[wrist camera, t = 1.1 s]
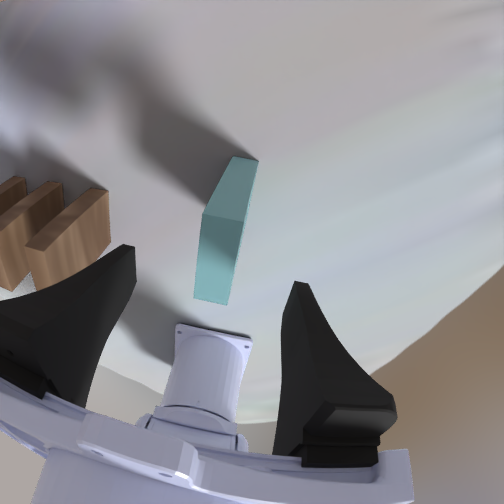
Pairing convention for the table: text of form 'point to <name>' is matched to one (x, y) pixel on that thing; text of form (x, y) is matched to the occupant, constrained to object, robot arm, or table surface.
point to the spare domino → (224, 231)
